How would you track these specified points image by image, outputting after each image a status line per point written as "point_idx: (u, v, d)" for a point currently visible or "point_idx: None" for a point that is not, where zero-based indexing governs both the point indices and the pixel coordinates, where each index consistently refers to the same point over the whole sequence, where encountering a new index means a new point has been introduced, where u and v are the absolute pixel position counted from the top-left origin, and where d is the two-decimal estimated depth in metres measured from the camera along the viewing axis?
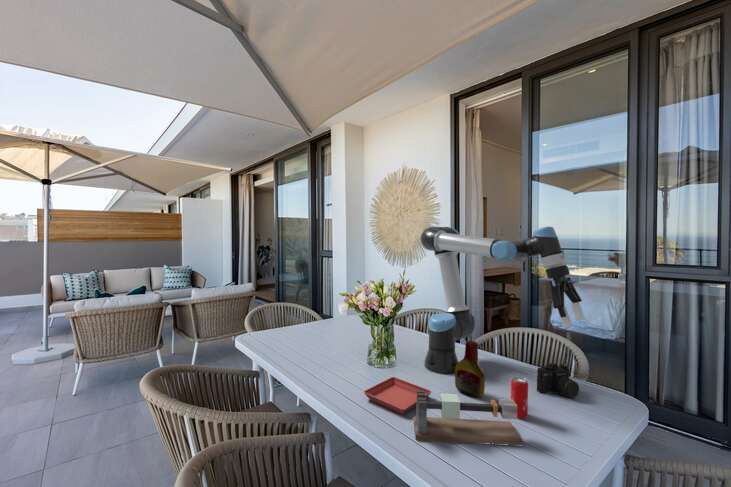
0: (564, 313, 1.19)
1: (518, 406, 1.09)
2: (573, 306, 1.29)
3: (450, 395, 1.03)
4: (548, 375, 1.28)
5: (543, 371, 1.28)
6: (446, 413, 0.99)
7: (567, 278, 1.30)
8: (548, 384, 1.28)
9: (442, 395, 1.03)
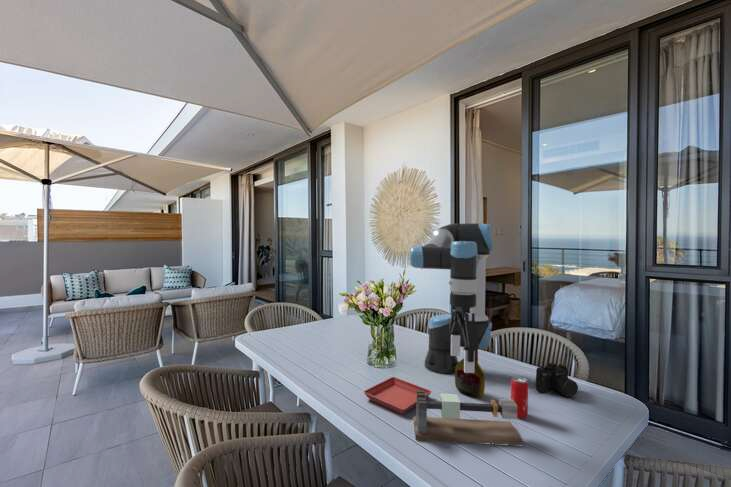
0: None
1: (518, 406, 1.09)
2: None
3: (450, 395, 1.03)
4: (547, 375, 1.28)
5: (542, 371, 1.28)
6: (446, 413, 0.99)
7: None
8: (547, 384, 1.28)
9: (442, 395, 1.03)
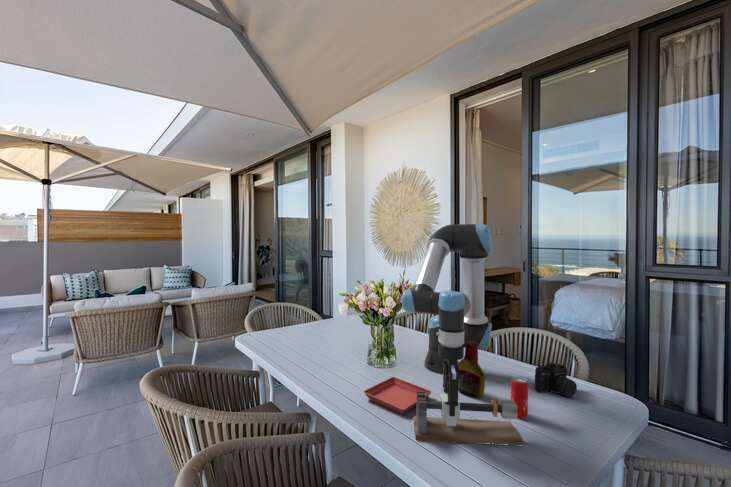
0: None
1: (518, 406, 1.09)
2: None
3: None
4: (546, 374, 1.29)
5: (541, 370, 1.28)
6: (446, 413, 0.99)
7: (451, 372, 0.96)
8: (546, 383, 1.28)
9: (442, 395, 1.03)
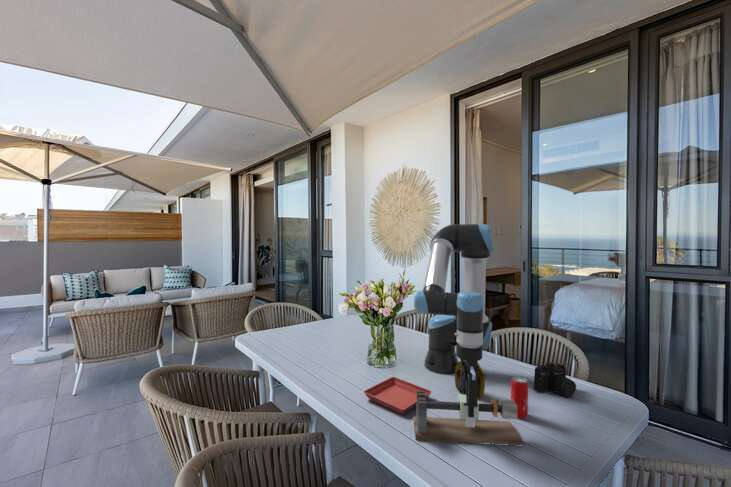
0: None
1: (518, 406, 1.09)
2: None
3: None
4: (545, 374, 1.29)
5: (540, 370, 1.28)
6: None
7: (470, 373, 0.95)
8: (545, 383, 1.29)
9: (460, 396, 1.03)
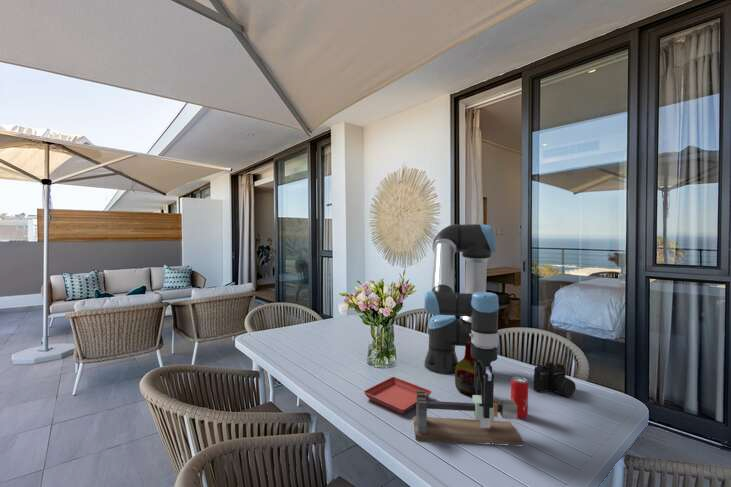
0: None
1: (518, 406, 1.09)
2: None
3: None
4: (545, 374, 1.29)
5: (540, 370, 1.29)
6: None
7: (486, 373, 0.95)
8: (545, 383, 1.29)
9: (474, 397, 1.02)
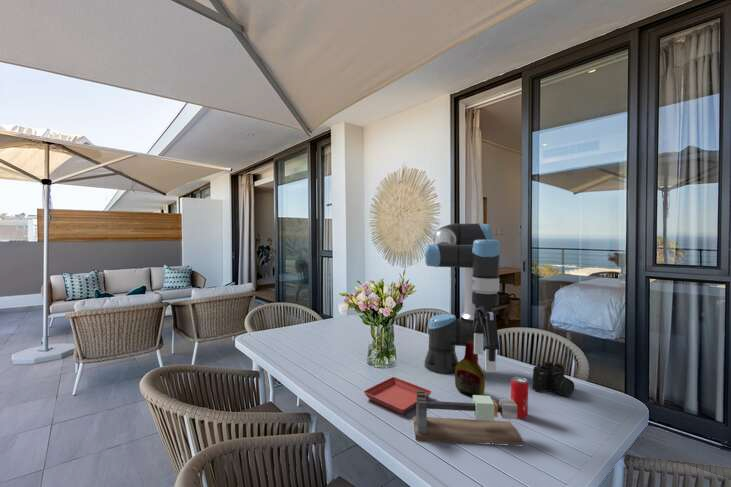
0: None
1: (518, 406, 1.09)
2: None
3: (483, 397, 1.02)
4: (544, 374, 1.29)
5: (539, 370, 1.29)
6: (480, 415, 0.99)
7: None
8: (544, 383, 1.29)
9: (475, 397, 1.02)
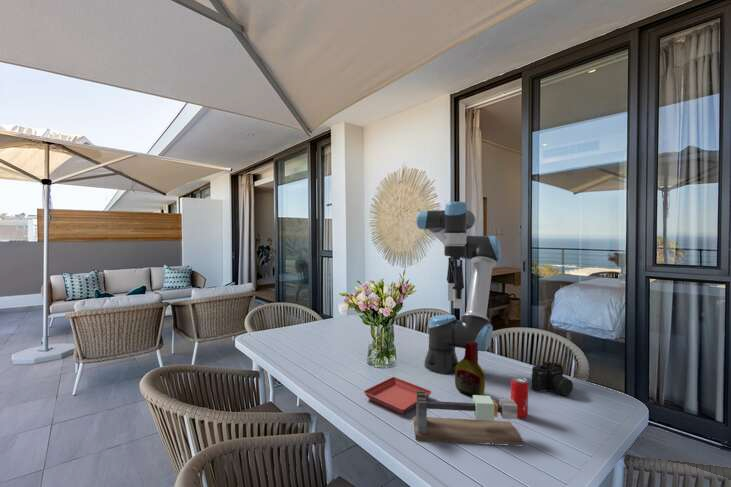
0: None
1: (518, 406, 1.09)
2: None
3: (483, 397, 1.02)
4: (543, 373, 1.30)
5: (538, 369, 1.29)
6: (480, 415, 0.99)
7: None
8: (543, 382, 1.29)
9: (475, 397, 1.02)
